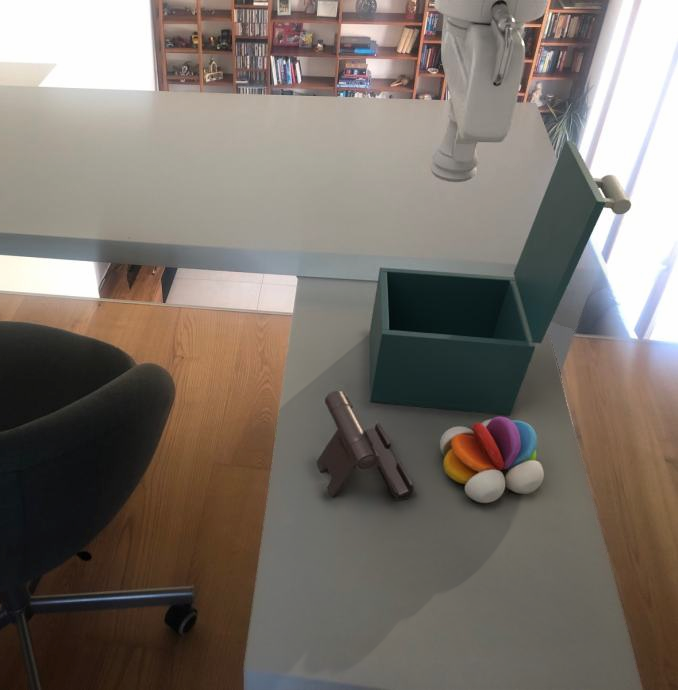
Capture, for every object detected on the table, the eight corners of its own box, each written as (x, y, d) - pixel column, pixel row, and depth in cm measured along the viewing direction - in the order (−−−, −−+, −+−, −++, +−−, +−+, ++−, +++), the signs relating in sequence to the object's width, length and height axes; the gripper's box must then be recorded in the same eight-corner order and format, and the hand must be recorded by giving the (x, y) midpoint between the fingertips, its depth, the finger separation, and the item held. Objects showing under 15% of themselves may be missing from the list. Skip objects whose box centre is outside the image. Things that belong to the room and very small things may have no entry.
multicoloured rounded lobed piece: (423, 450, 74) (436, 403, 70) (505, 433, 76) (522, 385, 71) (463, 514, 68) (479, 467, 63) (550, 494, 70) (573, 446, 65)
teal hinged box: (370, 402, 80) (381, 333, 73) (369, 333, 90) (379, 267, 83) (510, 415, 78) (535, 346, 71) (494, 343, 88) (515, 276, 81)
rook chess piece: (423, 163, 69) (438, 82, 64) (468, 162, 69) (487, 81, 64) (434, 184, 65) (451, 100, 60) (482, 183, 65) (502, 99, 60)
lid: (596, 201, 60) (654, 207, 60) (565, 139, 70) (615, 145, 69) (532, 342, 71) (581, 349, 71) (513, 273, 81) (555, 278, 80)
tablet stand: (412, 499, 70) (427, 444, 64) (338, 515, 68) (347, 460, 63) (377, 435, 76) (388, 381, 71) (309, 449, 75) (315, 394, 70)
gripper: (560, 26, 48) (510, 203, 57) (513, -41, 64) (479, 107, 73) (467, 23, 49) (432, 198, 58) (442, -42, 64) (418, 104, 73)
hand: (458, 147), depth 65 cm, fingers closed on rook chess piece, 3 cm apart
